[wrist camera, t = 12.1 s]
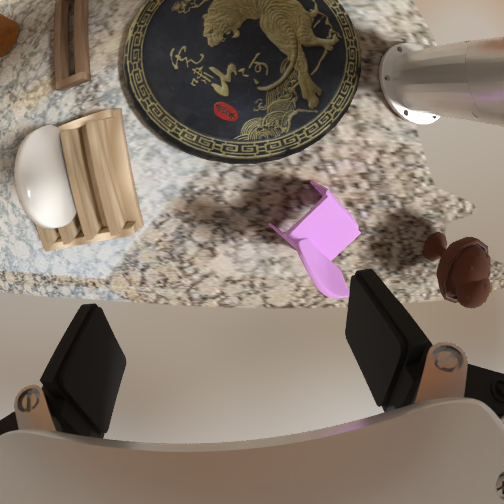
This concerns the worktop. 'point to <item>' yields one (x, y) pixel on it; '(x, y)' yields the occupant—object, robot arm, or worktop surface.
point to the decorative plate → (242, 74)
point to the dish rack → (97, 182)
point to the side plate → (44, 179)
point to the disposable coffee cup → (7, 34)
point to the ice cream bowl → (461, 269)
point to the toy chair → (323, 241)
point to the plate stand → (62, 44)
